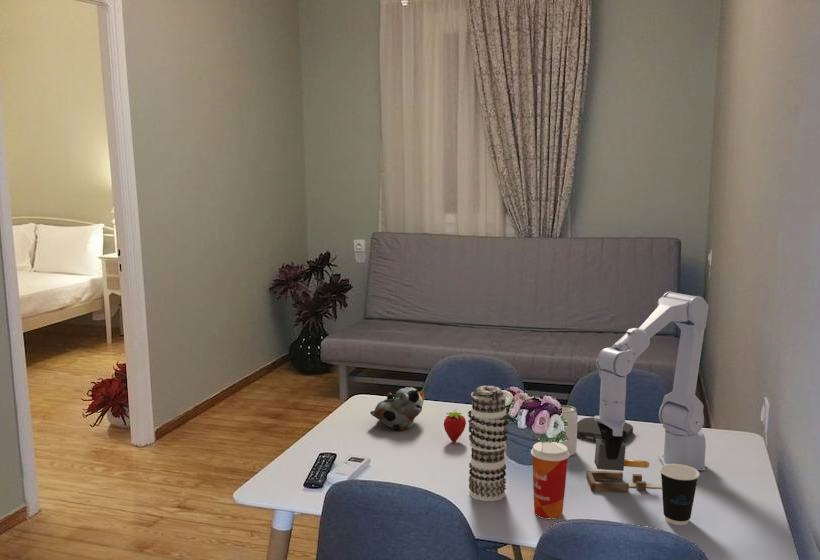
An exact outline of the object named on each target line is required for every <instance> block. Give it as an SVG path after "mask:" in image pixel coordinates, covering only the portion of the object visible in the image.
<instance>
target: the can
mask: <svg viewBox="0 0 820 560" xmlns="http://www.w3.org/2000/svg"><path fill="white" fill-rule="evenodd" d="M560 406H561V408H562V415H563V419H567V421H568V426H567V427H564V430H565V432H566V434H567V436H568V439H569V440H568V441H565V442H559V443H561V444H563V445H565V446H566V447H567V449H568V452H569V454H570V456H569V457H571V456H574V455H576V453H577V446H578V445H577V442H578V438H577V422H578V413H577V408H576V407H574V406H571V405H564V404H563V405H560Z"/></svg>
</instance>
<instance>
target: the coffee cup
mask: <svg viewBox="0 0 820 560" xmlns="http://www.w3.org/2000/svg"><path fill="white" fill-rule="evenodd" d="M530 454H531V456H532V459H531V460H532V484H533V485H532V487H533V488H532V489H533V491H532V492H533V510H534V514H535V513H536V514H537V515H538V516H540V517H543V518H542V519H544V518H551V519H550V520H553V519H552V518H557V519H559V517H560V518H561V517H562V516H563V512H564V511H563V510H564V502H565V501H564V500H565V493H566V492H565V491H566V482H567V481H566V480H567V471H568V470H567V469H568V461H569V460H568V458H569V457H571V456H570V454H569V452H568V449H567V447H566V446H565V445H563V444H561V443H557V442H552V441H551V442H550V441H543V442H542V441H539V442H536V443H535V444H533V446H532V449H531V450H530ZM536 514H535V515H536ZM537 515H536V516H537ZM561 515H562V516H561ZM538 516H537V517H538ZM540 517H539V518H540Z"/></svg>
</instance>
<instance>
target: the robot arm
mask: <svg viewBox="0 0 820 560" xmlns="http://www.w3.org/2000/svg"><path fill="white" fill-rule="evenodd" d="M709 307H710V306H709V304H708V303H707V301H706V300H705V298H704V297H702V296H700V295H691V294H690V295H689V294H684V293H678V292H674V291H666V292H665V293H664V294H663V295H662V296H661V297H660V298H659V299H658V301H657V307H656V308H655V309H654V311H653V312H651V314H650V315H649V316H648V317H647V318H646V319H645V321H644V322H643V323H641V325H640V326H639V327H632V328H628V330H626V332H625V333H624V335H623V336H621V337H620V338H619V339H618V340H617V341H616V342H615V343H614V344H613V345H612V346H610V347H605V348H603V349H601V350H600V351H599V353H598V355H597V359H595V365H596V368H597V369H598V376H599V378H600V392H599V393H600V394H599V395H600V396H599V415H594V416H593V417H594V420H595V421H597V424H598V426H599V429H600V433H601V438H602V439H605V445H606V454H607V458H608V459H617V457H618V454H619V451H620V447H621V445H622V442H623V441H624V439H625V438H626V436H627V432H626V431H623V426H624V424H625V422H626V418H625V416H626V415H625V414H626V398H627V397H626V396H627V395H626V394H627V375H628V374H630V373H631V372H632V371H633V367H634V364H635V363H636V360H637V358H638V357H639V356H640V355H642V354H643V352H645V351H646V350H647V349H648V347H650V343H651V340H650V339H651V338H652V337H653V336H655V335H656V334H657V333H658V332H660V331H661V330H662V329H663V328H665V327H666V326H667V325H668V324H669V323H671V322H672V323H673V322H674V323H675V325H676V326H677V327H678V329H679V330H680V337H679V343H678V350H677V356H676V363H675V372H674V376H673V377H674V379H673V385H672V391H671V392H669V393H667V394H665V395H664V396H663V400H662V403H661V404H660V405H661V406H660V408H659V411H658V419H659V421H660V423H661V424H662V429H664V430H665V431H664V446H663V448H664V449H663V455H658V459H659V460H660V462H661V463H662V464H663V465H667V464H680V465H686V466H689V467H692V468H694V469H696V470H697V471H706V468H705V465H706V464H705V463H706V462H705V460H706V450H707V449H706V447H707V445H706V436H705V434H704V432H703V431H702V429H703V427H704V423H705V417H704V407H705V406H704V404H703V402H702V401H701V400H700V399H699V398H698V397H697V395H696V390H697V384H698V383H697V382H698V376H699V370H700V369H699V368H700V364H701V363H700V362H701V356H702V348H703V342H704V336H705V335H704V334H705V329H706V327H707V319H708V315H709ZM663 465H662V466H663Z"/></svg>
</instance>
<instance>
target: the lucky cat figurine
mask: <svg viewBox="0 0 820 560" xmlns="http://www.w3.org/2000/svg"><path fill="white" fill-rule="evenodd" d="M424 393H425V390H424V389H423V390H421V391H419V390H418V389H417V388H415V387H410V386H409V387H408V386H406V387H404V388H400V389H398V390H397V391H396V392H395V394H394V395H393V393H391V392H388V393H387V395H386V399H384V400H382V401H379V402H378V403H377V405H376V406H375V408H374V410H372V411H370V415H371V416H372V417H374V418H376V419H377V420H378V421H380V422H381V423H383V424H384V425H385V426H387V427H389V428H391V429H396V430H397V431H398V432H403V431H405V430H409V429H411V428H412V427H413V425H414V421H415V419H416V418H417V417H418V416H419V415H420V414H421V412H422V410H423V405H424V402H425V394H424Z"/></svg>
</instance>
